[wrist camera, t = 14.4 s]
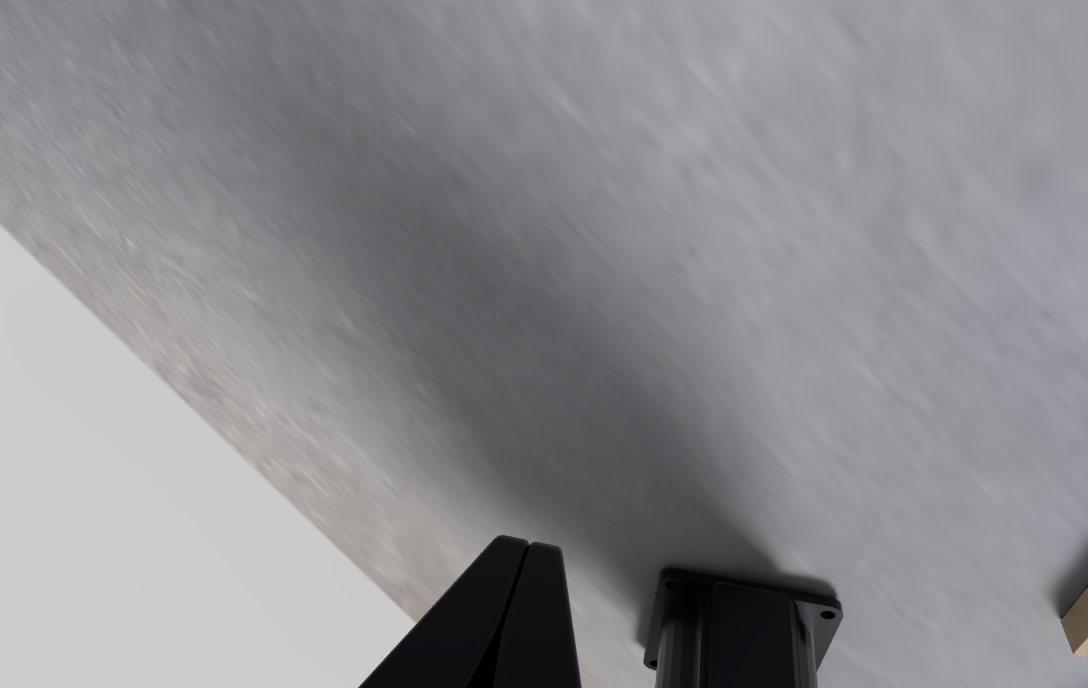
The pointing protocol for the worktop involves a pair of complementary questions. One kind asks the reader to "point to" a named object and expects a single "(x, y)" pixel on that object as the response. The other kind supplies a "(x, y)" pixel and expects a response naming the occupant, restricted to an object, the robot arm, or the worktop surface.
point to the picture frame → (1077, 625)
